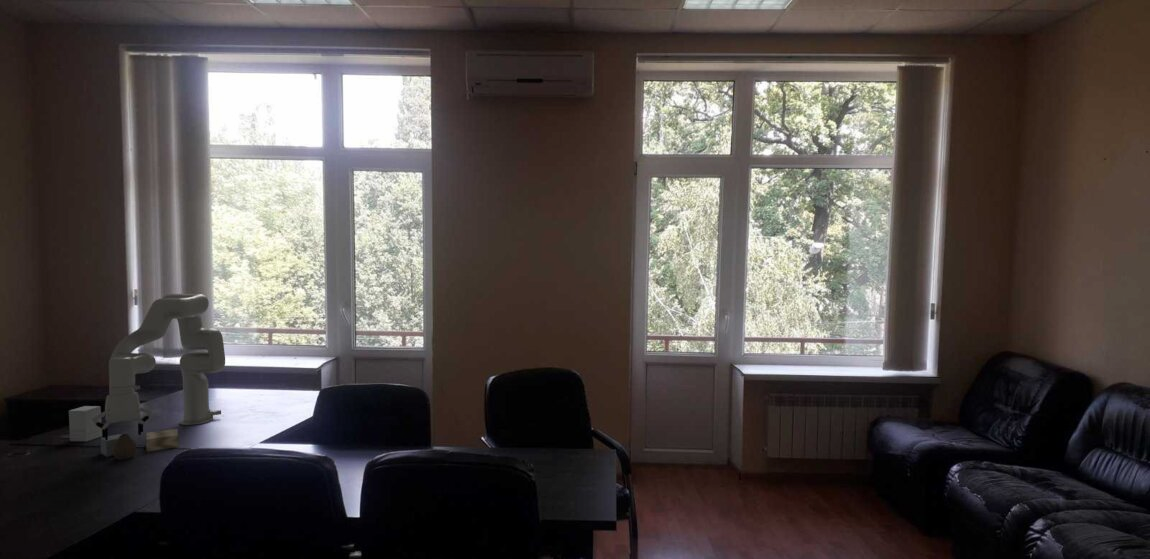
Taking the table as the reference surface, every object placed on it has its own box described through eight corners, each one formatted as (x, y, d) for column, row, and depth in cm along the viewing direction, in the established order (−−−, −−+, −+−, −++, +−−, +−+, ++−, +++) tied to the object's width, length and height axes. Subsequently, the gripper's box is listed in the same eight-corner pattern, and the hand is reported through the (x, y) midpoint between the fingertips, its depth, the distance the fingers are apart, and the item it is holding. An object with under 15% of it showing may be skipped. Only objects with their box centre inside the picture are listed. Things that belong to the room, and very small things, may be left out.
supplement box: (102, 436, 238) (101, 406, 238) (85, 442, 231) (84, 410, 230) (86, 435, 239) (85, 405, 239) (69, 441, 232) (67, 410, 231)
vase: (141, 456, 215) (140, 433, 215) (121, 462, 209) (120, 438, 208) (128, 454, 218) (127, 431, 217) (108, 460, 211) (107, 436, 211)
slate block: (120, 449, 223) (119, 433, 223) (126, 452, 220) (125, 436, 219) (101, 453, 218) (100, 437, 218) (106, 456, 215) (106, 440, 214)
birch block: (177, 440, 234) (177, 428, 234) (178, 447, 226) (177, 435, 226) (147, 445, 228) (146, 432, 228) (146, 452, 220) (146, 439, 220)
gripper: (150, 385, 220) (151, 430, 221) (91, 392, 209) (92, 439, 210) (152, 389, 215) (153, 434, 215) (91, 395, 203) (92, 443, 204)
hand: (123, 436), depth 212 cm, fingers open, 9 cm apart
